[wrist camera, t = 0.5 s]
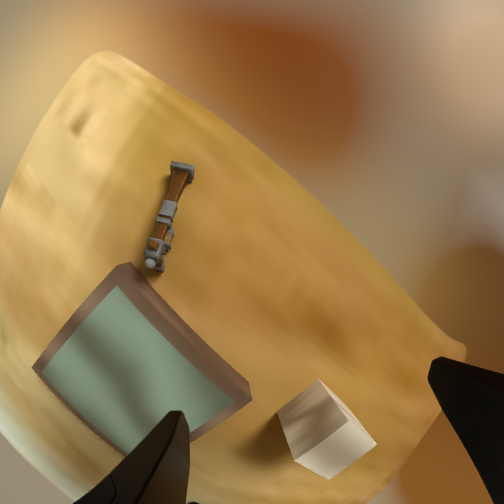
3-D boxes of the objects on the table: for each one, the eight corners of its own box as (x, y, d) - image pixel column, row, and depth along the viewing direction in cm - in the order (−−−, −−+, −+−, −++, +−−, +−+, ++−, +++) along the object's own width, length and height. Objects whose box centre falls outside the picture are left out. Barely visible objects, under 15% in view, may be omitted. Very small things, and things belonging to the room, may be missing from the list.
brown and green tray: (148, 450, 21) (142, 471, 18) (47, 356, 20) (30, 368, 16) (248, 381, 22) (252, 402, 19) (130, 261, 20) (115, 265, 17)
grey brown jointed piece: (145, 280, 20) (133, 260, 16) (173, 192, 23) (171, 159, 19) (167, 285, 20) (160, 267, 16) (193, 196, 23) (194, 163, 19)
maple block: (307, 434, 23) (328, 479, 16) (276, 411, 22) (294, 460, 15) (345, 404, 23) (376, 444, 16) (318, 378, 23) (348, 420, 16)
